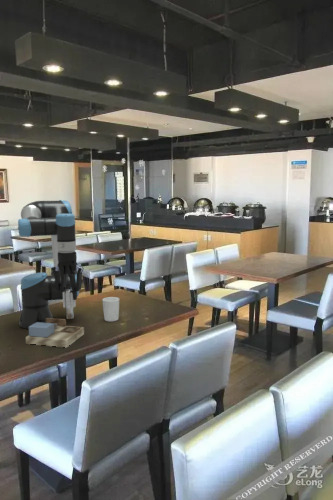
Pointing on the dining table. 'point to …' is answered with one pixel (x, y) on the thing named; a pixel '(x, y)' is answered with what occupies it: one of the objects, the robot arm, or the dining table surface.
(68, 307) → the pin
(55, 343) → the base plate
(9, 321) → the dining table surface
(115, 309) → the white cup
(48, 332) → the block
